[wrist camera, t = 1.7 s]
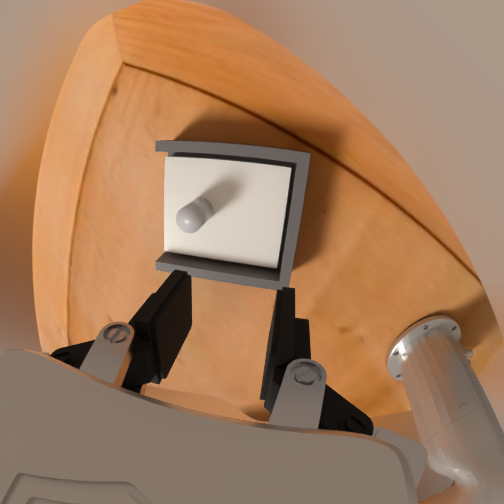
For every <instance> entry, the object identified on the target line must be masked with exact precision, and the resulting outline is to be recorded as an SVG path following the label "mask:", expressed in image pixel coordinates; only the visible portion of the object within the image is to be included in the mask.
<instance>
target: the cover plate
mask: <svg viewBox="0 0 504 504" xmlns="http://www.w3.org/2000/svg"><path fill="white" fill-rule="evenodd" d="M290 175H291V166H284V165H277V164H269V163H261V162H252V161H243V160H232V159H221V158H208V157H192V156H166V158H165V182H164V249H165V251H167V252H173V253H180V254H186V255H192V256H198V257H205V258H211V259H217V260H224V261H230V262H237V263H243V264H250V265H257V266H263V267H270V268H277V264H278V257H279V251H280V245H281V238H282V231H283V225H284V218H285V211H286V204H287V197H288V189H289V182H290Z"/></svg>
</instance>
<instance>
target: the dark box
mask: <svg viewBox="0 0 504 504" xmlns="http://www.w3.org/2000/svg"><path fill="white" fill-rule="evenodd" d="M155 151H162V152H168V156H192V157H208V158H221V159H232V160H243V161H252V162H261V163H269V164H277V165H284V166H291V175H290V182H289V189H288V197H287V204H286V211H285V218H284V225H283V231H282V238H281V245H280V251H279V257H278V264H277V268H270V267H263V266H257V265H250V264H243V263H237V262H230V261H224V260H217V259H211V258H205V257H198V256H192V255H186V254H180V253H173V252H167V251H166V252H165V253H164V254H163V255H162V256H161V257H160V258H158V259H157V260H156V270H160V271H165V272H170V273H172V272H173V271H174V270H175V269H177V270H182V271H187V272H188V275H191V276H192V277H198V278H204V279H210V280H215V281H221V282H227V283H234V284H240V285H246V286H252V287H259V288H265V289H272V290H277V289H279V290H282V287H288V288H289V283H290V277H291V272H292V267H293V261H294V256H295V250H296V245H297V239H298V233H299V227H300V221H301V215H302V209H303V203H304V196H305V190H306V183H307V176H308V169H309V162H310V155H311V153H308V152H304V151H297V150H291V149H283V148H276V147H267V146H259V145H249V144H238V143H226V142H210V141H188V140H164V141H156V147H155Z"/></svg>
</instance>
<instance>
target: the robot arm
mask: <svg viewBox="0 0 504 504" xmlns="http://www.w3.org/2000/svg"><path fill="white" fill-rule="evenodd" d="M191 326H192V289H191V275H188V272H187V271H182V270H177V269H175V270H174V271H173V272H172V273H171V275H170V276H169V277H168V278H167V279H166V281H165V282H164V283H163V284H162V285H161V287H160V288H159V289H158V290H157V292H156V293H153V294H151V295H150V297H149V298H148V299H147V300H146V302H145V303H144V304H143V305H142V306H141V308H140V309H139V310H138V311H137V313H136V314H135V315H134V316H133V318H132V319H131V320H130V321H129V323H128V324H127V323H124V322H112V323H110V324H107V325H106V326H104V327H103V328H102V329H101V331H100V332H99V334H98V336H97V338H96V339H95V340H93V341H88V342H84V343H80V344H76V345H72V346H67V347H63V348H60V349H57V350H55V351H54V352H53V353H52V354H51V355H50V354H49V353H39V352H35V351H32V350H26V349H11V350H8V351H6V352H4V353H2V354H1V355H0V504H504V433H503V430H502V428H501V426H500V424H499V422H498V419H497V417H496V415H495V413H494V410H493V408H492V406H491V404H490V402H489V400H488V398H487V396H486V394H485V392H484V390H483V388H482V386H481V384H480V382H479V380H478V378H477V376H476V374H475V372H474V371H473V369H472V367H471V361H470V360H469V359H467V358H471V357H472V355H473V350H472V349H466V350H464V348H463V347H462V345H461V344H460V340H461V330H460V327H459V325H458V324H457V322H456V321H455V320H454V319H453V318H451V317H449V316H446V315H436V316H431V317H428V318H425V319H423V320H421V321H419V322H417V323H415V324H414V325H412V326H410V327H409V328H408V329H407V330H405V331H404V332H403V333H402V334H401V335H400V336H399V337H398V338H397V339H396V341H395V342H394V343H393V345H392V346H391V348H390V350H389V353H388V355H387V361H386V362H387V368H388V371H389V373H390V375H391V376H392V377H393V378H394V379H397V380H399V381H403V383H404V386H405V389H406V392H407V395H408V398H409V402H410V405H411V408H412V412H413V415H414V419H415V422H416V426H417V429H418V433H419V437H420V440H421V444H420V443H418V442H416V441H413V440H411V439H408V438H406V437H404V436H401V435H399V434H397V433H395V432H392V431H390V430H388V429H386V428H383V427H380V428H376V427H374V426H373V423H372V421H371V419H370V418H369V417H368V416H367V415H366V414H365V413H363V412H362V411H361V410H359V409H358V408H356V407H355V406H354V405H353V404H351V403H350V402H349V401H347V400H346V399H345V398H343V397H342V396H341V395H339V394H338V393H337V392H336V391H334V390H333V389H332V388H330V387H329V386H328V385H327V384H326V378H327V376H326V371H325V369H324V368H323V366H322V365H321V364H319V363H318V362H316V361H313V360H311V350H310V332H309V320H308V319H301V318H295V288H288V287H282V290H279V289H277V294H276V299H275V305H274V311H273V316H272V322H271V327H270V332H269V338H268V344H267V352H266V359H265V366H264V374H263V381H262V387H261V394H260V399H261V400H265V402H264V407H265V408H266V409H267V410H268V411H269V412H270V413H271V417H270V419H269V422H268V424H265V423H257V422H251V421H245V420H239V419H233V418H228V417H223V416H218V415H214V414H209V413H204V412H200V411H196V410H192V409H188V408H184V407H181V406H177V405H174V404H170V403H167V402H163V401H160V400H157V399H154V398H151V397H147V396H144V394H145V390H146V385H147V383H150V382H152V383H156V384H160V382H161V380H162V378H163V379H166V377H167V376H168V374H169V371H170V369H171V367H172V365H173V363H174V361H175V359H176V357H177V355H178V353H179V351H180V349H181V347H182V345H183V343H184V341H185V339H186V337H187V335H188V333H189V331H190V329H191ZM426 462H427V464H428V466H429V467H430V468H431V469H432V470H434V471H435V472H437V473H439V474H442V475H444V476H447V477H449V478H451V479H452V480H453V483H452V484H451V485H450V486H449V487H447V488H445V489H443V490H442V491H440V492H438V493H436V494H434V495H432V496H430V497H427V498H425V499H423V500H420V501H417V494H416V488H417V485H418V483H419V480H420V478H421V476H422V473H423V470H424V468H425V464H426Z"/></svg>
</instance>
